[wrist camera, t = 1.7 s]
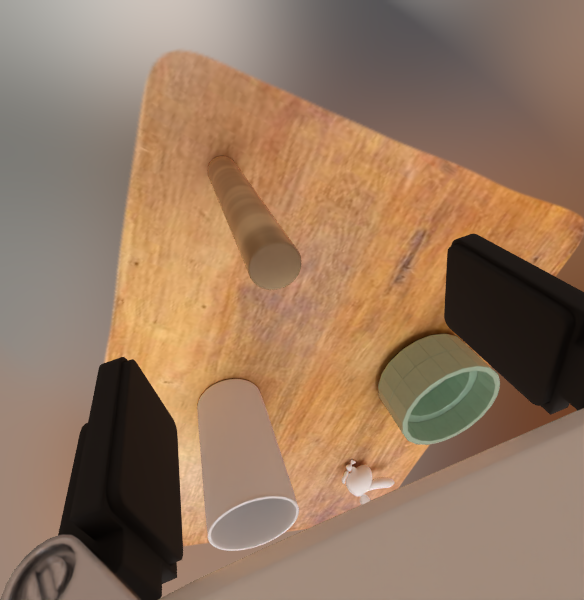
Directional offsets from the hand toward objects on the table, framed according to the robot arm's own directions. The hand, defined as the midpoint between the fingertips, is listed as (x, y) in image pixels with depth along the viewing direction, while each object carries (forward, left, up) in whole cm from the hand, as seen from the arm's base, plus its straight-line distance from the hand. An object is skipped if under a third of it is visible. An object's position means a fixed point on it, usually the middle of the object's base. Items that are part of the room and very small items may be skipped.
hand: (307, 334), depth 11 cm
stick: (0, 0, -18) cm, 18 cm away
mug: (+23, -6, -18) cm, 29 cm away
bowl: (+27, +15, -18) cm, 36 cm away
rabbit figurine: (+43, +6, -18) cm, 47 cm away
